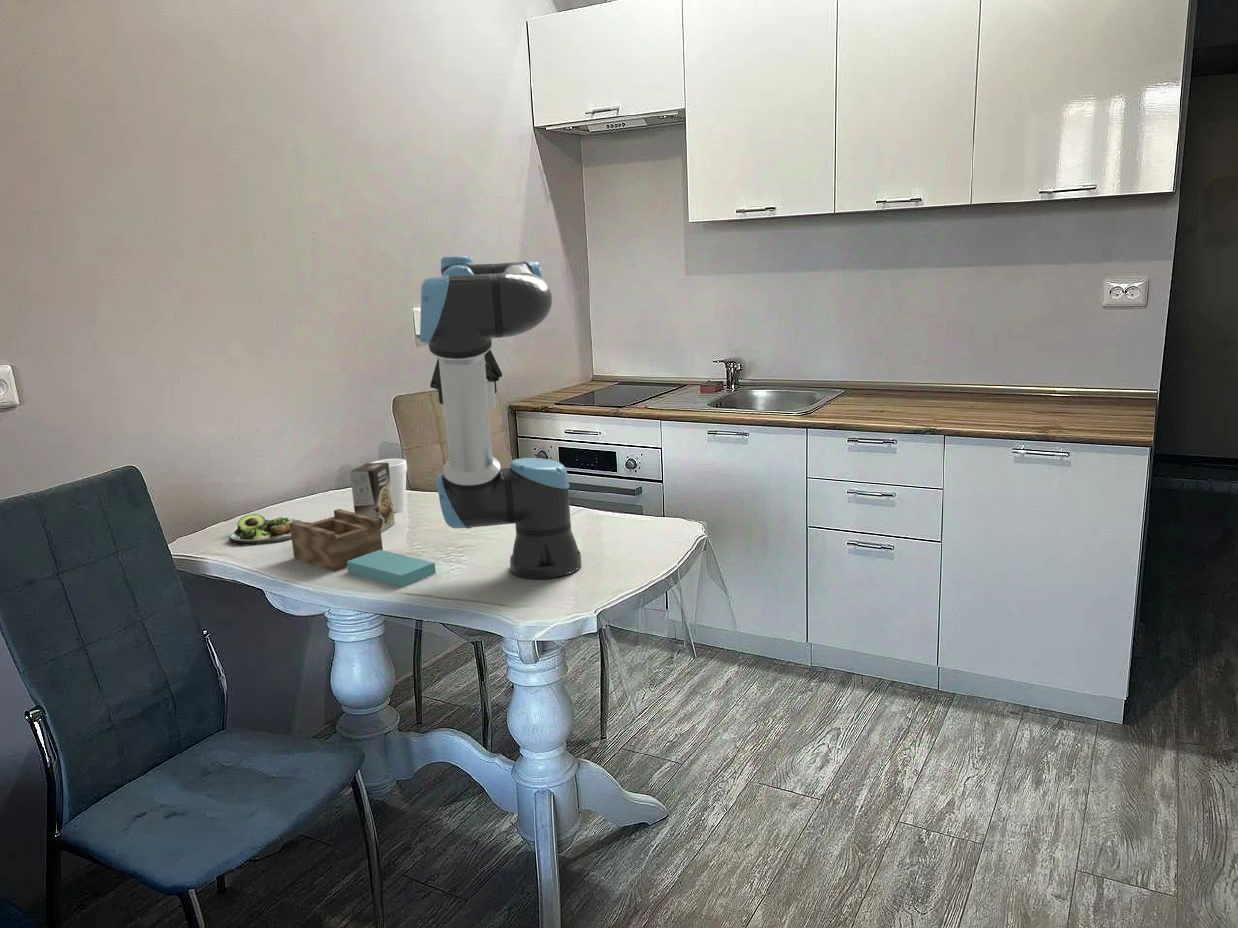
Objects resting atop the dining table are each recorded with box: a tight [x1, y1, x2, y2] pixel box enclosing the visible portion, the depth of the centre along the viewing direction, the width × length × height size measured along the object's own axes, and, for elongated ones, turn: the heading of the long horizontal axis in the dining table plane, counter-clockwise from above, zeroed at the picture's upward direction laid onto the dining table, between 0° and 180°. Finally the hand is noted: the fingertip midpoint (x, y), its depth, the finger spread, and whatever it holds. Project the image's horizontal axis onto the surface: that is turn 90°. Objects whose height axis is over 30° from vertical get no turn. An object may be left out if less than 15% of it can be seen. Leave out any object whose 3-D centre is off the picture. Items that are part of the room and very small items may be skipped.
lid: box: [346, 549, 437, 588], centre depth 200 cm, size 18×9×3 cm, turn 53°
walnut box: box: [290, 508, 384, 572], centre depth 212 cm, size 16×13×8 cm
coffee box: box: [349, 462, 396, 534], centre depth 231 cm, size 9×6×16 cm
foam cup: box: [371, 458, 408, 514], centre depth 248 cm, size 10×9×13 cm
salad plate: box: [229, 513, 311, 545], centre depth 233 cm, size 19×18×5 cm
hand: (470, 412), depth 223 cm, fingers open, 13 cm apart
